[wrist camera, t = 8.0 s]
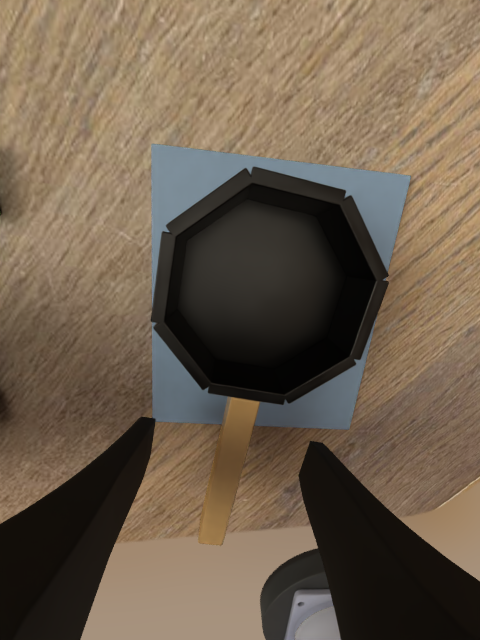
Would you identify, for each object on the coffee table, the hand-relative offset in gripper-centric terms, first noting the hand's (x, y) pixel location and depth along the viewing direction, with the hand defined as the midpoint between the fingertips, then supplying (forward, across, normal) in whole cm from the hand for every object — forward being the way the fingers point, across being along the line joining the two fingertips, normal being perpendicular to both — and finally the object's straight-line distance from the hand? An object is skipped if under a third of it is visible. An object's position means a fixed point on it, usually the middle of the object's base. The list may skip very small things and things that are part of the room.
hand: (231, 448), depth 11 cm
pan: (+2, 0, -3) cm, 4 cm away
